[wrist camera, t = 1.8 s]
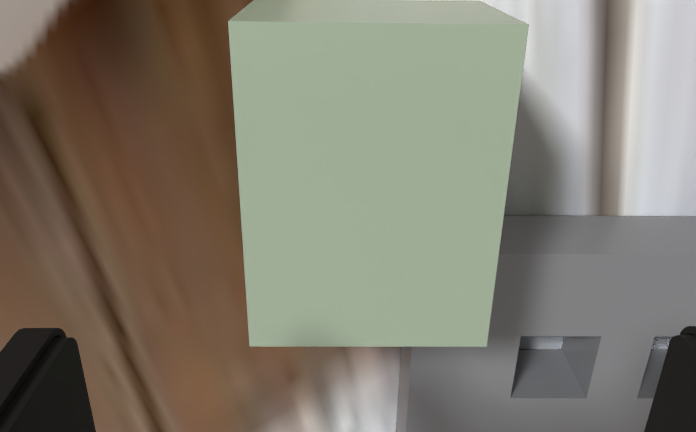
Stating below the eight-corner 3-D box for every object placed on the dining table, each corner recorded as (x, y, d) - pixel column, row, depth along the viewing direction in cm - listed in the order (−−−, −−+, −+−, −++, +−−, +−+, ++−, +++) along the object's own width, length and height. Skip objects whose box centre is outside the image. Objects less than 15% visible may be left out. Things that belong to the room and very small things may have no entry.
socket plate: (410, 214, 24) (421, 262, 21) (816, 217, 24) (890, 264, 21) (391, 500, 31) (397, 569, 28) (706, 499, 31) (749, 567, 28)
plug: (263, -11, 20) (223, 21, 13) (465, -8, 20) (533, 24, 13) (273, 222, 24) (245, 346, 17) (444, 222, 24) (490, 346, 17)
